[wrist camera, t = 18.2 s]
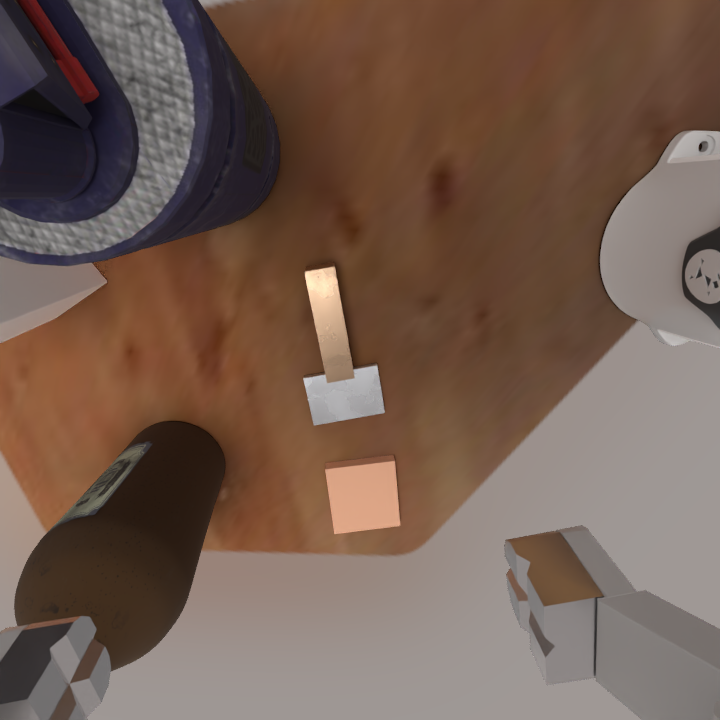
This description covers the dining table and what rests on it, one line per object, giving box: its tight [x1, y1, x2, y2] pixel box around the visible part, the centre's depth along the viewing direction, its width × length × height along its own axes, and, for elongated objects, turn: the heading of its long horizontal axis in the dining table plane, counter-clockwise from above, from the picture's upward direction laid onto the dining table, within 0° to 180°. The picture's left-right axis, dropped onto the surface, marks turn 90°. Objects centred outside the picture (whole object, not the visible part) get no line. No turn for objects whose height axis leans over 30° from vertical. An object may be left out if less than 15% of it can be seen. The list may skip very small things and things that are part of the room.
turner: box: [303, 262, 385, 425], centre depth 42 cm, size 7×15×3 cm, turn 9°
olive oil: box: [14, 422, 225, 671], centre depth 34 cm, size 11×11×25 cm
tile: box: [325, 455, 400, 534], centre depth 48 cm, size 7×2×8 cm
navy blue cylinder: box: [0, 0, 280, 266], centre depth 23 cm, size 14×12×30 cm
